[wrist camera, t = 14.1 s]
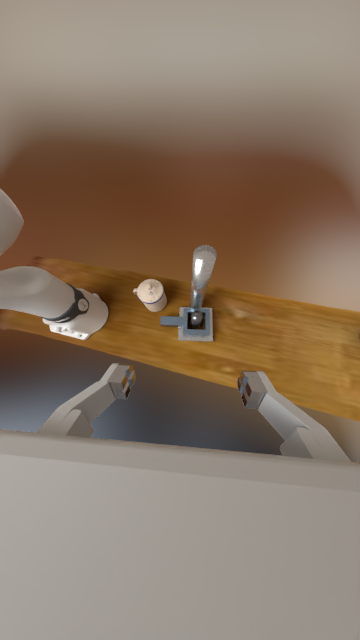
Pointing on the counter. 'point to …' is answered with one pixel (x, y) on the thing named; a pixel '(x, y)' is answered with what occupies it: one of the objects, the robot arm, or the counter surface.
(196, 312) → the dark grey rounded rod
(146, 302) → the teacup with lid
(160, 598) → the robot arm
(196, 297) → the box with upright lever
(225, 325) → the counter surface
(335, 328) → the counter surface
